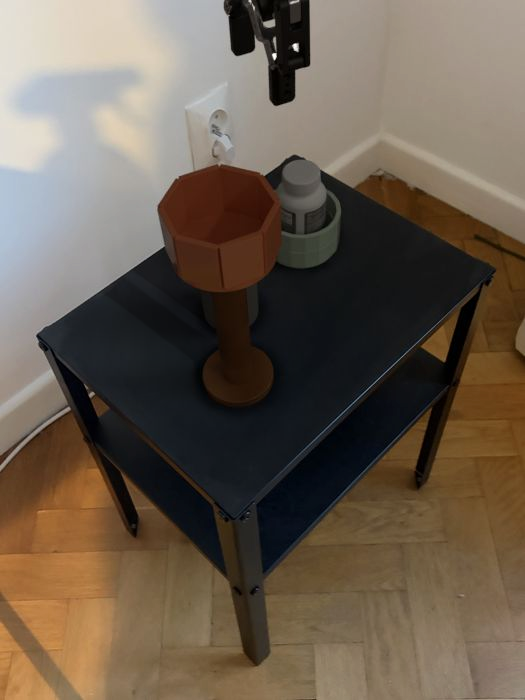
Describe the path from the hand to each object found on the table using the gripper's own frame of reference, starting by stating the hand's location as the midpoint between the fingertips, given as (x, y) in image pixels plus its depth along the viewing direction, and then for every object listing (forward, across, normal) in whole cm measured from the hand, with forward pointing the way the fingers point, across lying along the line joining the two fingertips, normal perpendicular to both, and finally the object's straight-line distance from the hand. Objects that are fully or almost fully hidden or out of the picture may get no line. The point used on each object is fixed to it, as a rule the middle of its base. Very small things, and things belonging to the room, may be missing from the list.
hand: (262, 76), depth 66 cm
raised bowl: (+3, +16, -11) cm, 19 cm away
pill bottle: (+21, +2, +3) cm, 21 cm away
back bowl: (+21, +2, +3) cm, 22 cm away
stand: (+21, +16, -11) cm, 28 cm away
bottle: (+22, +8, -8) cm, 24 cm away
